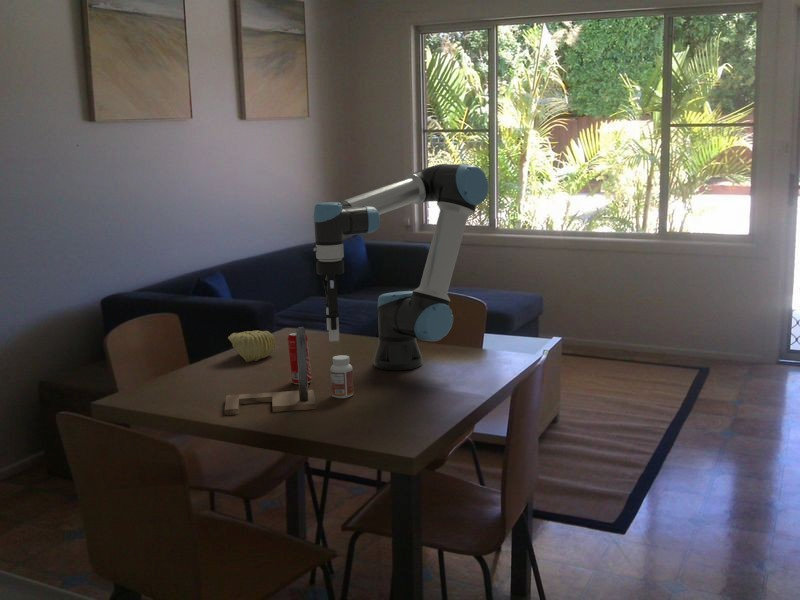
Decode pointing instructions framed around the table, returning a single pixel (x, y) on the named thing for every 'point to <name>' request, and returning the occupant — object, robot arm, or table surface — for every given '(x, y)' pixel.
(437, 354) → the table surface
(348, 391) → the pill bottle
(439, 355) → the table surface
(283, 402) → the notched tan block
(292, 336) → the beverage can
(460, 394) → the table surface
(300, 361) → the hook post
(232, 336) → the seashell
